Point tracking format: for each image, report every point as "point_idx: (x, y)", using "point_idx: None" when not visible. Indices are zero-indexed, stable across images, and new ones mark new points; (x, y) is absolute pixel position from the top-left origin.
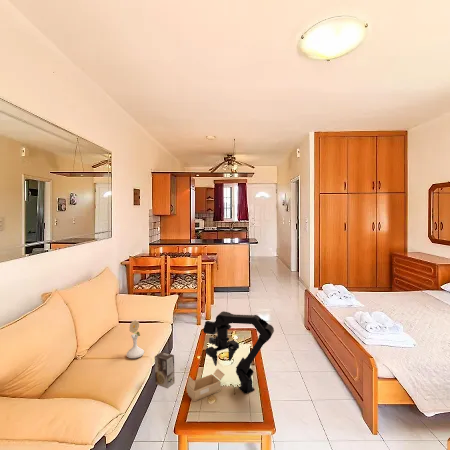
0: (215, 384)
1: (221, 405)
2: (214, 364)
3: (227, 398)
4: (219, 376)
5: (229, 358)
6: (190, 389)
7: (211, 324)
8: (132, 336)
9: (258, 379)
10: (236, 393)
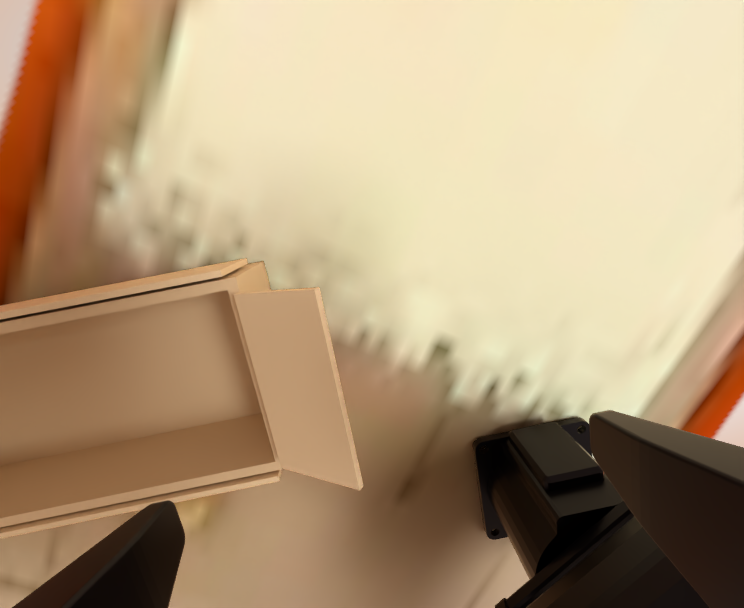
0: (209, 487)
1: (237, 585)
2: (133, 517)
3: (318, 526)
4: (290, 430)
5: (640, 489)
6: None
7: None
8: None
9: (720, 380)
10: (422, 493)
